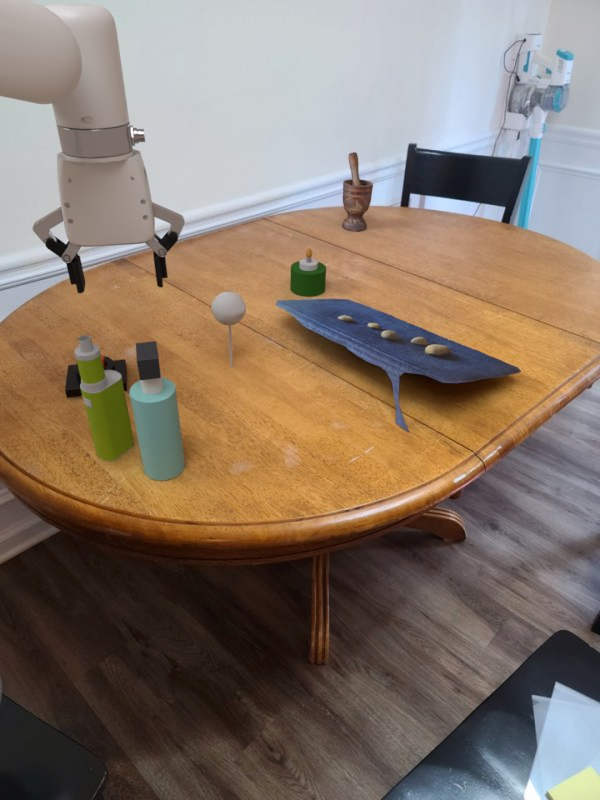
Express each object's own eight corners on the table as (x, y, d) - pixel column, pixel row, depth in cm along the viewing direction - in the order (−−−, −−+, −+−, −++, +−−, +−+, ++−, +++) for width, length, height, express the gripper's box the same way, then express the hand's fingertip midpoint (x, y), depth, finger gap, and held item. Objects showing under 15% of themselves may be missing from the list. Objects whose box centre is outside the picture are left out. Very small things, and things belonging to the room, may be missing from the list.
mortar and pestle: (328, 222, 174) (332, 153, 162) (350, 218, 178) (356, 150, 166) (351, 233, 166) (357, 162, 154) (374, 229, 170) (381, 158, 158)
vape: (91, 455, 85) (62, 340, 73) (121, 434, 89) (98, 322, 77) (108, 465, 83) (81, 348, 71) (138, 443, 87) (117, 329, 76)
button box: (66, 398, 96) (62, 381, 94) (69, 373, 103) (65, 356, 100) (127, 390, 99) (124, 374, 96) (126, 366, 105) (123, 350, 103)
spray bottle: (142, 456, 85) (122, 341, 73) (183, 450, 86) (169, 336, 75) (144, 483, 80) (122, 365, 69) (186, 477, 82) (172, 360, 70)
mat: (254, 346, 116) (263, 292, 112) (342, 339, 135) (353, 292, 131) (430, 444, 88) (451, 376, 84) (511, 417, 107) (532, 361, 102)
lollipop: (254, 365, 106) (252, 291, 98) (234, 379, 102) (230, 304, 94) (229, 354, 109) (225, 282, 100) (208, 367, 105) (202, 294, 96)
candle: (283, 287, 134) (283, 247, 129) (308, 279, 139) (310, 239, 133) (306, 299, 130) (308, 258, 124) (332, 290, 134) (334, 249, 128)
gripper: (174, 132, 66) (187, 269, 77) (17, 135, 63) (52, 278, 73) (178, 147, 61) (192, 293, 71) (5, 151, 57) (45, 304, 67)
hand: (121, 285), depth 72 cm, fingers open, 9 cm apart
